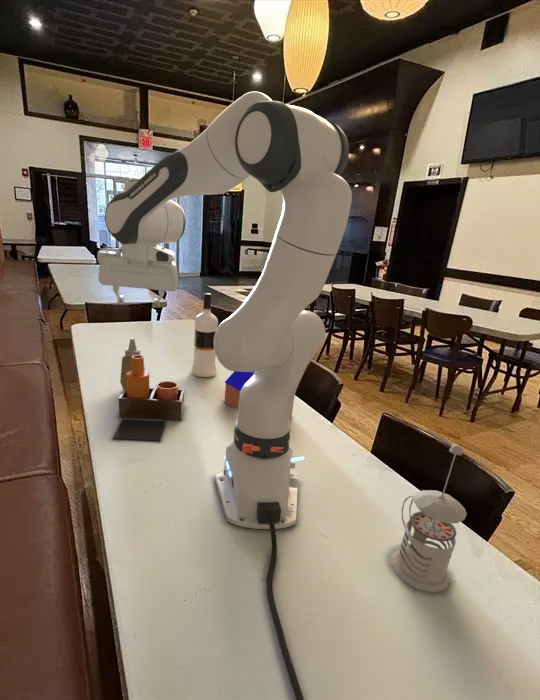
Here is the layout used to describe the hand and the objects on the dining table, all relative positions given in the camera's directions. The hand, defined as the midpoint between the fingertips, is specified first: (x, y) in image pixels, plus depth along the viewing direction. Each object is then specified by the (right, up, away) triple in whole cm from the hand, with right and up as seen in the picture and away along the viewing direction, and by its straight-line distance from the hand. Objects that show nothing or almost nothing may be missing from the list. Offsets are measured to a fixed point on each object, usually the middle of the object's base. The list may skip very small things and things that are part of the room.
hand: (138, 304), depth 110 cm
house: (+32, -29, +19) cm, 48 cm away
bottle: (-3, -29, +12) cm, 32 cm away
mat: (0, -34, +1) cm, 34 cm away
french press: (+59, -54, -37) cm, 88 cm away
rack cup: (+5, -30, +12) cm, 33 cm away
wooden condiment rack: (+1, -30, +12) cm, 32 cm away
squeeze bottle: (-8, -24, +24) cm, 35 cm away
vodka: (+13, -18, +45) cm, 50 cm away
